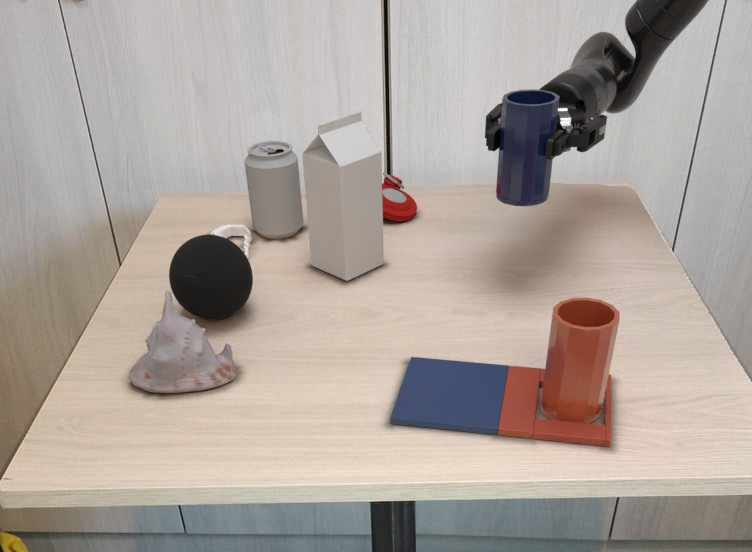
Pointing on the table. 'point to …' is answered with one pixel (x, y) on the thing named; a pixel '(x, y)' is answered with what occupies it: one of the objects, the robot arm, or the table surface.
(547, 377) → the red cup
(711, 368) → the table surface
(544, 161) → the blue cup
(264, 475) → the table surface
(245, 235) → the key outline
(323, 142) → the milk carton
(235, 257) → the speaker
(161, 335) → the seashell
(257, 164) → the can
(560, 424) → the sorting board
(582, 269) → the table surface
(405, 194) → the tracker holder
